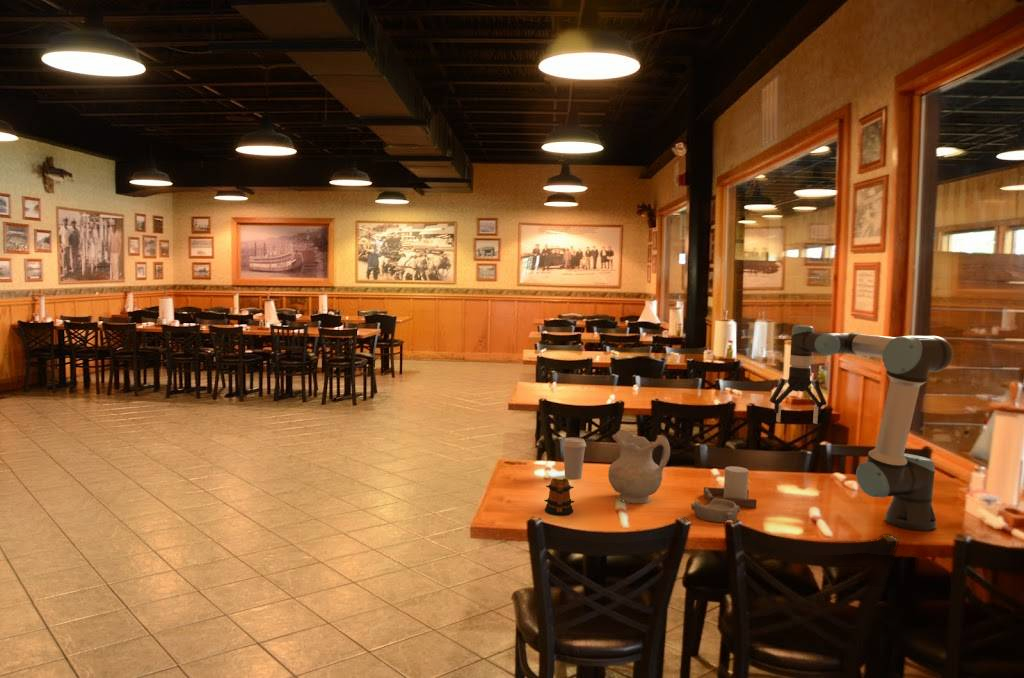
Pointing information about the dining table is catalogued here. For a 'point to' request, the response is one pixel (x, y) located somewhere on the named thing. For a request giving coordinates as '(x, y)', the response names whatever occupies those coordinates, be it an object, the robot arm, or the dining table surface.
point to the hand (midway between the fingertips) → (796, 422)
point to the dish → (716, 510)
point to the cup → (736, 482)
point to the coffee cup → (573, 457)
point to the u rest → (719, 494)
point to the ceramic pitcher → (637, 467)
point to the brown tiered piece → (559, 498)
